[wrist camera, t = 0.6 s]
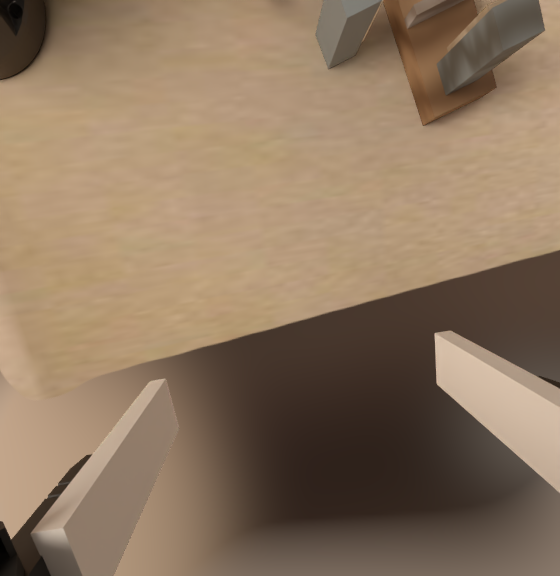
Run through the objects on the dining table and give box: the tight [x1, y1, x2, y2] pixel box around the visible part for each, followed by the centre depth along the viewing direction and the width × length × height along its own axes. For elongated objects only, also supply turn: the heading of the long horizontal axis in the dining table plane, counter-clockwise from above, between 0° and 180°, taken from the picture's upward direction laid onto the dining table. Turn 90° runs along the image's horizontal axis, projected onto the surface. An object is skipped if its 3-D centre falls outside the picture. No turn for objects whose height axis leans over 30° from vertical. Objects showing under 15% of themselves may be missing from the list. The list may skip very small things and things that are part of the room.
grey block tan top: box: [316, 0, 384, 69], centre depth 29 cm, size 4×4×8 cm
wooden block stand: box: [383, 0, 545, 126], centre depth 28 cm, size 18×8×10 cm, turn 25°
